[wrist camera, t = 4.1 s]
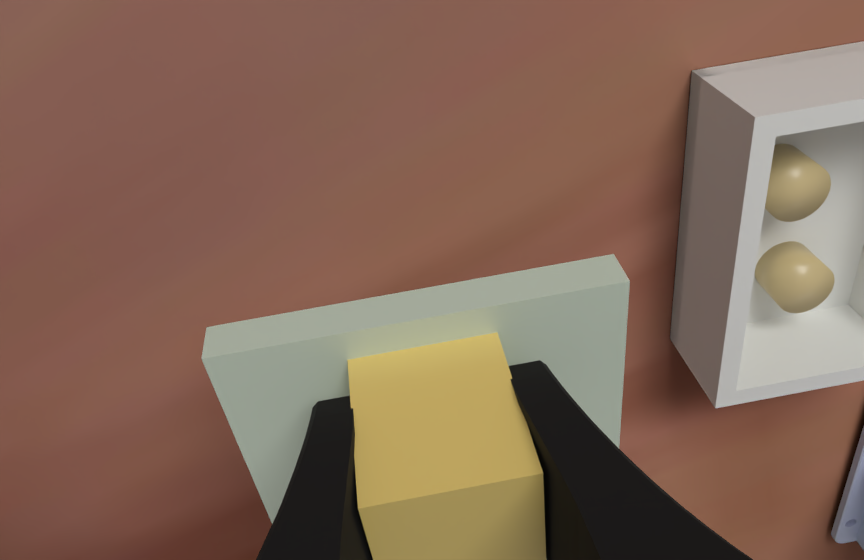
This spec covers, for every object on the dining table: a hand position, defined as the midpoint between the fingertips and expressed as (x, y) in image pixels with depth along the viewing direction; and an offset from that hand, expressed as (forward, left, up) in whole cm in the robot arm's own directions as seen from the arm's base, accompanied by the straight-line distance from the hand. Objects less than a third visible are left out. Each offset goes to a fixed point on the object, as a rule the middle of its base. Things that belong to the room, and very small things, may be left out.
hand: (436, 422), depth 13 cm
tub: (-3, -12, -10) cm, 16 cm away
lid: (-3, 0, -2) cm, 4 cm away
